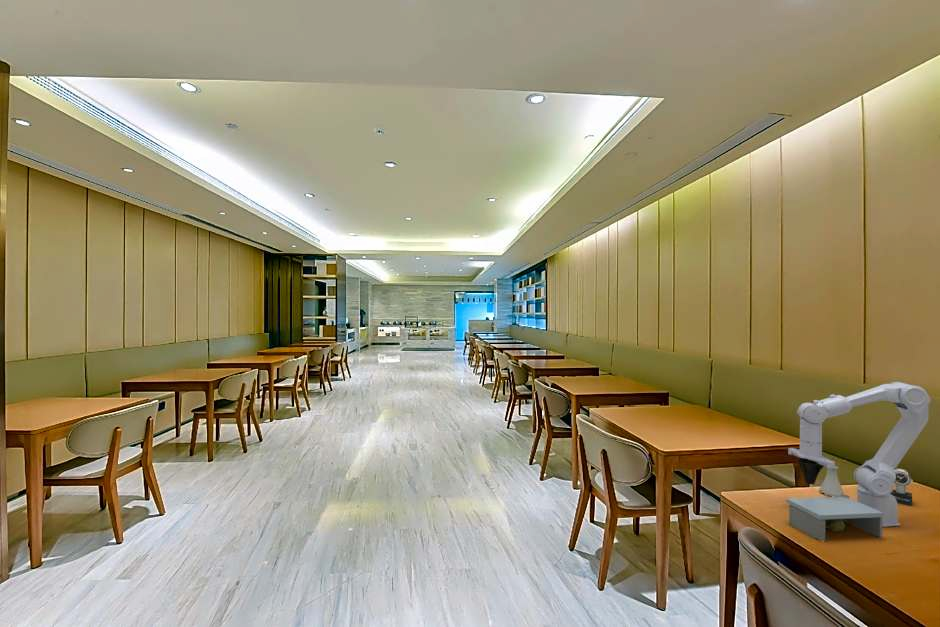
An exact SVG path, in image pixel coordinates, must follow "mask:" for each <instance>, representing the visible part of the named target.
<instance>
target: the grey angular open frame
mask: <svg viewBox="0 0 940 627" xmlns="http://www.w3.org/2000/svg"><path fill="white" fill-rule="evenodd" d="M788 505H789V506H788V507H789V508H788V510H789V511H788V525H789V526H791V527H793V528H795V529H797V530H798V531H800V530H801V531H800V532H802V531H803V533H804V532H805V533H804V534H807V535H808V536H810V537H812V538H813V539H815V538H817V539H819V540H821V541H825V542H826V526H825V521H824V520H820V519H818V518H816V517H814V516H812V515H810V514H808V513H806V512H804V511H802V510H800V509H798V508H796V507H794V506H792V505H790V504H788ZM842 520H843V521H846V522H845V523H847V522H848V524H849V523H851V524H853V525H852V526H854V525H855V526H854V527H856V526H857V527H856V528H858V527H859V529H860V528H861V529H860V530H862V529H863V530H862V531H864V532H867V533H869V534H871V535H874V536H876V537H878V538H883V527H882V517H873V518H849V519H842ZM851 524H850V525H851ZM817 539H816V540H817ZM819 540H818V541H819ZM821 541H820V542H821Z"/></svg>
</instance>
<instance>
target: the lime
mask: <svg viewBox="0 0 940 627" xmlns="http://www.w3.org/2000/svg"><path fill="white" fill-rule="evenodd" d="M824 521H825V528H827V529H828V530H829V531H832V532H835V531H836V533H839V532H842V531H843V530H845V528H846V524H845V523H846V522H843V520H842V519H825V520H824Z"/></svg>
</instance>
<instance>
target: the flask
mask: <svg viewBox="0 0 940 627" xmlns="http://www.w3.org/2000/svg"><path fill="white" fill-rule="evenodd" d="M826 468H827V467H826ZM838 470H839V467H838V466H836V465H835V468H827V469H826V474H825V477H824V479H823V482H822V483H821V485H820V487H821V488H820V487H819V489H820V490H819V489H818V491H819V493H820V494H822V493H824V494H826V495H825V496H827V495H829V496H828V497H831V496H834V497H841V494H843V495H845V493H844V491H843V489H842V486H841V482H840V480H839V478H838ZM824 494H823V495H824Z"/></svg>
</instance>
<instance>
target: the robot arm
mask: <svg viewBox="0 0 940 627" xmlns="http://www.w3.org/2000/svg"><path fill="white" fill-rule="evenodd" d="M880 401H886V402H890V403H893V404H894V405H895V406H896V408H897V409H898V411H899V413H900V414H901V416H900V418H899V419H898V421H897V423H896V424H895V426H894V427H893V429H892V430H891V432H889V434H888V436H887V437H886V439H885V441H884V442H883V443H882V445H881V446H880V448H879V449H878V451H877V452H876V453H875V455H874V456H873V458H870V459H868V460H866V461H865V462H864V463H863V464H862V465H861V466H859V467H856V469H855V470H854V472H853V478H854V480H855V481H856V483H858V484H857V489H856V491H857V493H856V495H857V496H856V501H857V502H859V503H862V504H864V505H866V506H869V507H871V508H873V509H876V510H878V511H880V512H883V513H884V517H882V528H884V527H885V528H886V527H896V526H898V527H899V526H901V523H900V522H898V503H897V501H896V499H895V497H894V496H893V495H892V494H890V493H891V492H892V490H893V489H894V484H893V483H894V481H895V479H896V475H895V470H896V469H897V467H898V466H899V464H900V463H901V461H902V459H903V458H904V457H905V455H906V453H907V452H908V450H910V448H911V446H912V445H913V444H914V442H915V441H916V439H917V438H918V436H919V435H920V434H921V432H922V430H923V429H924V427H926V425H927V423H928V422H929V420H930V419H929V418H930V416H929V412H930V410H929V406H930V405H929V404H930V403H931V401H932V399H931V398H930V396H929V394H928V393H927V391H926V390H925V389H924V388H923V387H921V386H918V385H911V384H908V383H905V382H901V381H893V382H890V383H882V384H881V385H878V386H876V387H873V388H869V389H867V390H864V391H861V392H856V393H855V394H854V393H853V394H851V395H848V396H843V395H840V394H838V395H836V394H830V395H829V397H827V398H824V399H819V400H818V399H814V400H813V402H804V403H801V405H799V406H798V409H797V410H796V414H797V415H798V417H799V419H800V420H799V449H797V448H795V447H790V448H789V447H788V450H787V452H788V455H789V456H790V455H791V456H795V457H797V458H800V459H797V461H796V462H797V463H798V465H799V467H800V469H801V471H802V474H803V478H804V481H805V484H808V485H815V484H816V481H817V478H818V476H819V473H820V472H821V471H822V469H823V468H824V467H825V468H835V466H836V462H835V461H834V460H831V459H828V458H827V457H825V456H823V453H822V452H823V422H825V420H826V419H830V418H833V417H837V416H840V415H845V414H848V413H849V414H850V411H851V410H852V408H854V407H858V406H863V405H866V404H871V403H872V404H873V403H875V402H876V403H877V402H880Z"/></svg>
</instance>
